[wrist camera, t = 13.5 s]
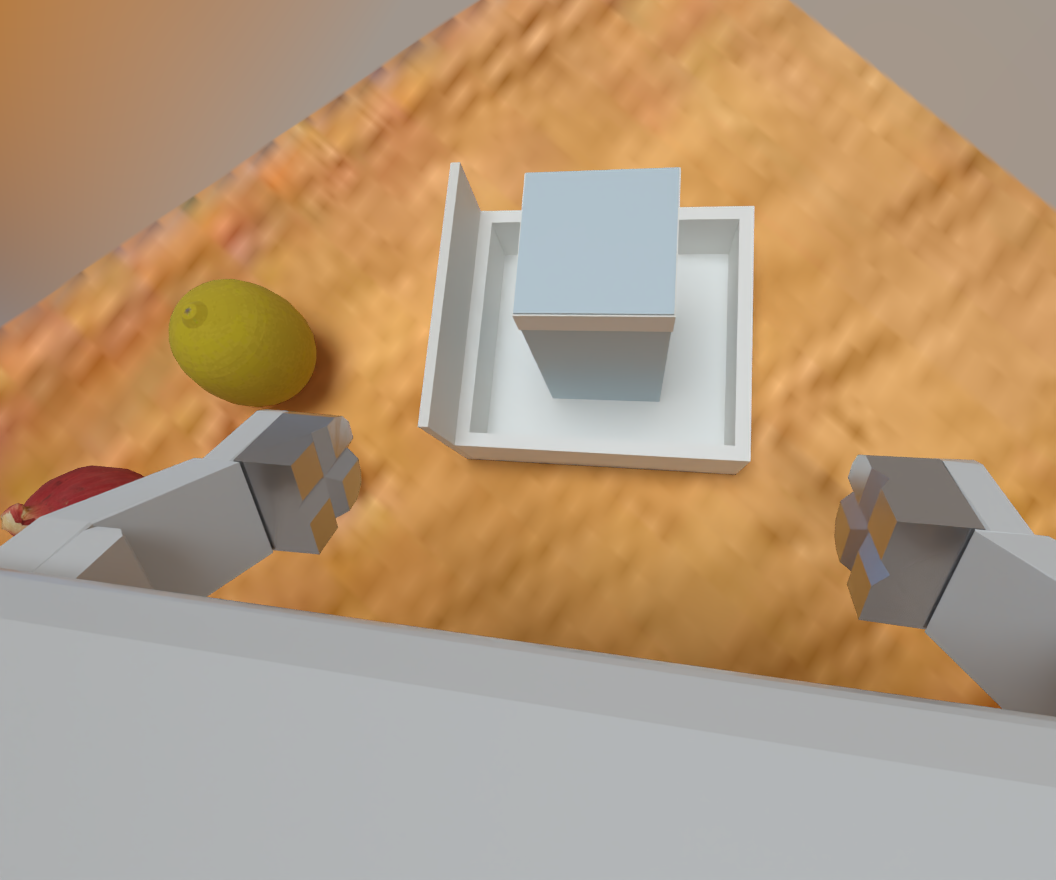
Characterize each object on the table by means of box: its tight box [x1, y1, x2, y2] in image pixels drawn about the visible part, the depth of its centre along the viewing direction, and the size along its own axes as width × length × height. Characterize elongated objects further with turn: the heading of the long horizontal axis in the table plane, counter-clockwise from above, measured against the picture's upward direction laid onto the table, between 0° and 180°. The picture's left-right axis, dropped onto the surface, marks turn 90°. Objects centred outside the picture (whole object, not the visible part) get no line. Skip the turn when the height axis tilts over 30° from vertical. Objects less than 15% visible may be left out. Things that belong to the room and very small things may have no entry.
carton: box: [512, 167, 681, 402], centre depth 24 cm, size 5×5×10 cm
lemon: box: [169, 279, 316, 407], centre depth 28 cm, size 6×6×8 cm
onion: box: [1, 466, 144, 536], centre depth 27 cm, size 6×6×8 cm
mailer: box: [418, 162, 754, 475], centre depth 26 cm, size 11×13×7 cm
